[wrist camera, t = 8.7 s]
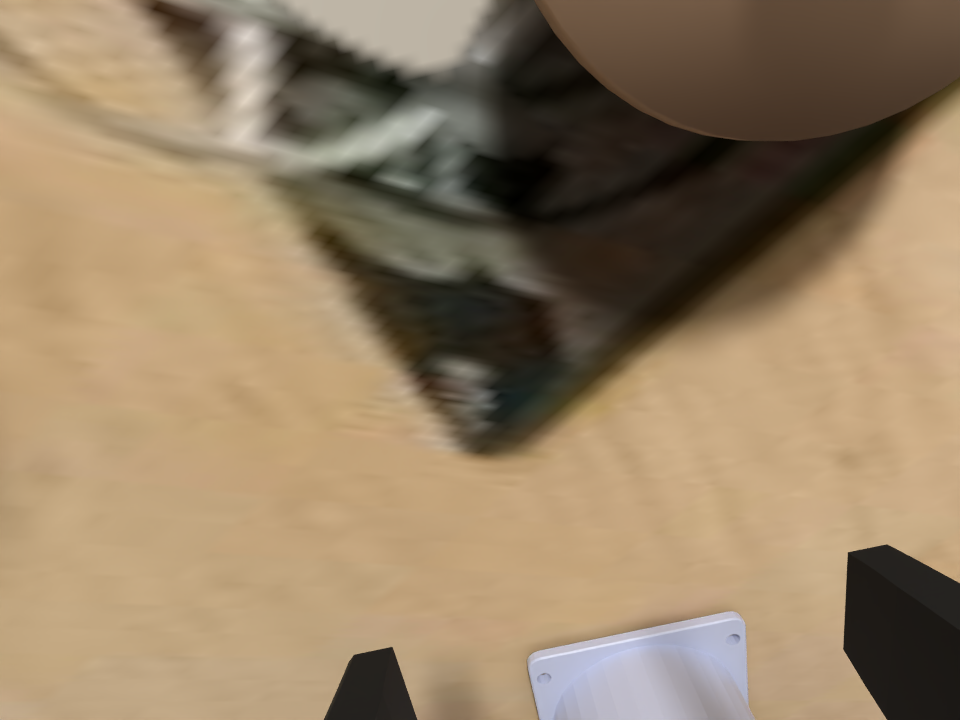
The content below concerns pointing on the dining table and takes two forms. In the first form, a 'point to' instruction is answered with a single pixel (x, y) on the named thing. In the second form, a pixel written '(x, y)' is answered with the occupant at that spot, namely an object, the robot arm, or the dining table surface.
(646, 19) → the lid
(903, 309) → the dining table surface
